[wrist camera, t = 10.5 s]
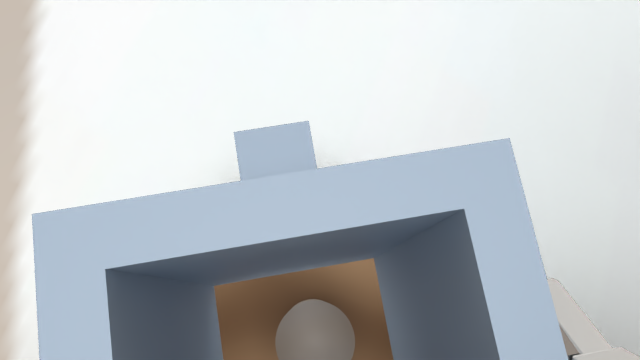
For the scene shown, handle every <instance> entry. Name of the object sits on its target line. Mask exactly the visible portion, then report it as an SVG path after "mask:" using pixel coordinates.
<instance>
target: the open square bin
mask: <svg viewBox="0 0 640 360" xmlns="http://www.w3.org/2000/svg"><path fill="white" fill-rule="evenodd" d="M234 137H235V144H236V151H237V158H238V165H239V171H240V178H241V181H237V182H230V183H224V184H218V185H212V186H205V187H199V188H193V189H187V190H180V191H174V192H168V193H161V194H155V195H149V196H143V197H136V198H130V199H124V200H117V201H111V202H105V203H99V204H92V205H86V206H80V207H73V208H67V209H61V210H55V211H48V212H42V213H36V214H32V225H33V244H34V263H35V282H36V301H37V320H38V339H39V358H40V360H223V353H222V345H221V337H220V330H219V322H218V314H217V306H216V298H215V290H214V286H217V285H222V284H228V283H234V282H240V281H245V280H251V279H257V278H263V277H268V276H274V275H280V274H286V273H291V272H297V271H303V270H309V269H314V268H320V267H326V266H332V265H337V264H343V263H349V262H355V261H360V260H366V259H372V258H374V262H375V267H376V272H377V278H378V283H379V288H380V293H381V298H382V303H383V308H384V313H385V319H386V324H387V329H388V334H389V339H390V344H391V349H392V354H393V360H568V357H567V353H566V349H565V345H564V342H563V338H562V334H561V330H560V327H559V323H558V319H557V315H556V311H555V308H554V304H553V300H552V296H551V293H550V289H549V285H548V281H547V277H546V274H545V270H544V266H543V262H542V259H541V255H540V251H539V247H538V244H537V240H536V236H535V232H534V228H533V225H532V221H531V217H530V213H529V210H528V206H527V202H526V198H525V195H524V191H523V187H522V183H521V179H520V176H519V172H518V168H517V164H516V161H515V157H514V153H513V149H512V146H511V142H510V138H507V139H501V140H494V141H488V142H482V143H476V144H469V145H463V146H457V147H450V148H444V149H438V150H432V151H425V152H419V153H413V154H406V155H400V156H394V157H388V158H381V159H375V160H369V161H362V162H356V163H350V164H344V165H337V166H331V167H325V168H318V169H317V165H316V160H315V154H314V149H313V143H312V137H311V132H310V126H309V121H304V122H297V123H291V124H284V125H278V126H271V127H264V128H258V129H251V130H245V131H238V132H234Z"/></svg>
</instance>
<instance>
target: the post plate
mask: <svg viewBox="0 0 640 360" xmlns="http://www.w3.org/2000/svg"><path fill="white" fill-rule="evenodd" d="M214 290H215V298H216V306H217V314H218V322H219V330H220V337H221V345H222V353H223V360H393V354H392V349H391V344H390V339H389V334H388V329H387V324H386V319H385V313H384V308H383V303H382V298H381V293H380V288H379V283H378V278H377V272H376V267H375V262H374V258H372V259H366V260H360V261H355V262H349V263H343V264H337V265H332V266H326V267H320V268H314V269H309V270H303V271H297V272H291V273H286V274H280V275H274V276H268V277H263V278H257V279H251V280H245V281H240V282H234V283H228V284H222V285H217V286H214Z"/></svg>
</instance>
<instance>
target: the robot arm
mask: <svg viewBox="0 0 640 360" xmlns="http://www.w3.org/2000/svg"><path fill="white" fill-rule="evenodd" d="M547 281H548V285H549V289H550V293H551V296H552V300H553V304H554V308H555V311H556V315H557V319H558V323H559V327H560V330H561V334H562V338H563V342H564V345H565V349H566V353H567V357H568V360H640V357H639V356H637V355H635V354H633V353H631V352H630V351H628V350H626V349H624V348H622V347H616V348H612V347H611V346H610V345H609V344H608V342H607V341H606V340H605V339H604V337H603V336H602V335H601V333H600V332H599V331H598V330H597V328H596V327H595V326H594V325H593V323H592V322H591V321H590V320H589V318H588V317H587V316H586V315H585V313H584V312H583V311H582V310H581V308H580V307H579V306H578V305H577V303H576V302H575V301H574V300H573V298H572V297H571V296H570V295H569V293H568V292H567V291H566V290H565V288H564V287H563V286H562V285H561V283H560V282H559V281H557V280H555V279H554V278H551V279H547Z"/></svg>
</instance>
